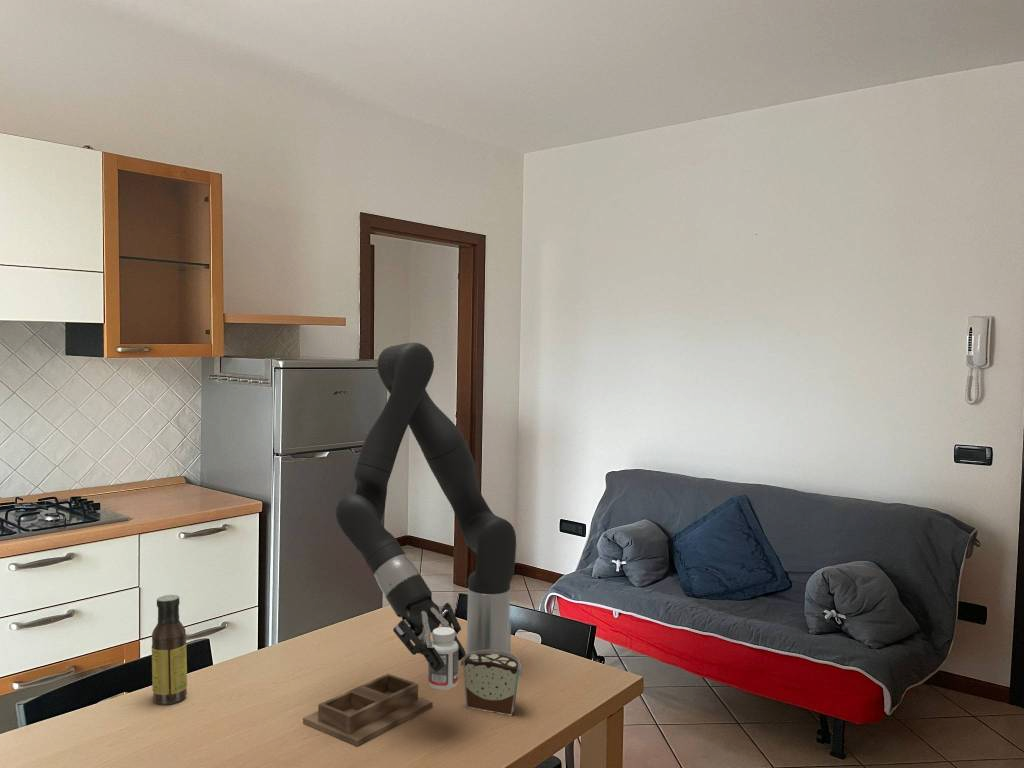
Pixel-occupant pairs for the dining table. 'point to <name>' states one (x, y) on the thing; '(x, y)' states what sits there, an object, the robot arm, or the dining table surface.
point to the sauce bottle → (169, 653)
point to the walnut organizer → (369, 709)
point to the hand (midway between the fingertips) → (451, 663)
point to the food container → (491, 680)
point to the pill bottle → (444, 659)
